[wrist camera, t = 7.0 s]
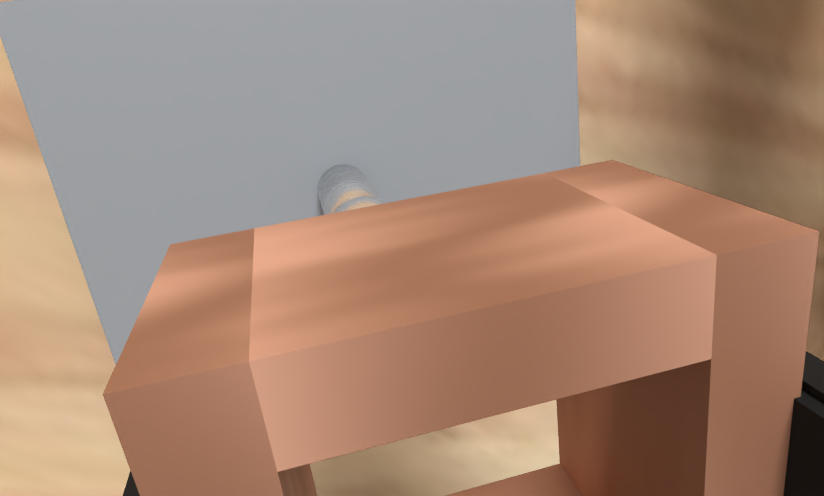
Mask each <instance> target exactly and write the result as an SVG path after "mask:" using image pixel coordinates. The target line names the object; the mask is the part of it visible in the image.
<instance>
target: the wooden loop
mask: <svg viewBox="0 0 824 496" xmlns="http://www.w3.org/2000/svg"><path fill="white" fill-rule="evenodd" d="M819 232H820V231H817V230H814V229H811V228H808V227H805V226H802V225H799V224H796V223H794V222H791V221H788V220H785V219H782V218H779V217H776V216H773V215H770V214H767V213H765V212H762V211H759V210H756V209H753V208H750V207H747V206H744V205H741V204H739V203H736V202H733V201H730V200H727V199H724V198H721V197H718V196H715V195H712V194H710V193H707V192H704V191H701V190H698V189H695V188H692V187H689V186H686V185H684V184H681V183H678V182H675V181H672V180H669V179H666V178H663V177H660V176H658V175H655V174H652V173H649V172H646V171H643V170H640V169H637V168H634V167H631V166H629V165H626V164H623V163H620V162H617V161H614V160H610V161H605V162H599V163H594V164H589V165H584V166H578V167H573V168H568V169H563V170H557V171H552V172H547V173H542V174H537V175H531V176H526V177H521V178H516V179H510V180H505V181H500V182H495V183H489V184H484V185H479V186H474V187H468V188H463V189H458V190H453V191H447V192H442V193H437V194H432V195H426V196H421V197H416V198H411V199H405V200H400V201H395V202H390V203H384V204H379V205H374V206H369V207H364V208H358V209H353V210H348V211H343V212H337V213H332V214H327V215H322V216H316V217H311V218H306V219H301V220H295V221H290V222H285V223H280V224H274V225H269V226H264V227H259V228H253V229H248V230H243V231H238V232H232V233H227V234H222V235H217V236H212V237H206V238H201V239H196V240H191V241H185V242H180V243H175V244H170V246H169V248H168V250H167V253H166V255H165V257H164V259H163V262H162V264H161V266H160V268H159V270H158V273H157V275H156V277H155V279H154V282H153V284H152V286H151V288H150V291H149V293H148V295H147V297H146V299H145V302H144V304H143V306H142V308H141V311H140V313H139V315H138V317H137V319H136V322H135V324H134V326H133V328H132V331H131V333H130V335H129V337H128V340H127V342H126V344H125V346H124V348H123V351H122V353H121V355H120V357H119V360H118V362H117V364H116V366H115V369H114V371H113V373H112V375H111V377H110V380H109V382H108V384H107V386H106V389H105V391H104V393H103V396H104V399H105V402H106V404H107V407H108V410H109V412H110V415H111V418H112V421H113V423H114V426H115V429H116V432H117V434H118V437H119V440H120V443H121V445H122V448H123V451H124V454H125V456H126V459H127V462H128V465H129V467H130V470H131V473H132V476H133V478H134V481H135V484H136V486H137V489H138V492H139V495H140V496H317V494H316V489H315V485H314V481H313V476H312V472H311V468H310V463H313V462H317V461H321V460H325V459H329V458H333V457H337V456H340V455H344V454H348V453H352V452H356V451H360V450H363V449H367V448H371V447H375V446H379V445H383V444H387V443H390V442H394V441H398V440H402V439H406V438H410V437H413V436H417V435H421V434H425V433H429V432H433V431H437V430H440V429H444V428H448V427H452V426H456V425H460V424H463V423H467V422H471V421H475V420H479V419H483V418H487V417H490V416H494V415H498V414H502V413H506V412H510V411H514V410H517V409H521V408H525V407H529V406H533V405H537V404H540V403H544V402H548V401H552V400H556V399H557V417H558V436H559V455H560V464H557V465H554V466H550V467H546V468H543V469H539V470H536V471H532V472H529V473H525V474H521V475H518V476H514V477H511V478H507V479H503V480H500V481H496V482H493V483H489V484H486V485H482V486H478V487H475V488H471V489H468V490H464V491H461V492H457V493H453V494H450V495H446V496H783V495H784V486H785V476H786V467H787V458H788V449H789V440H790V431H791V422H792V413H793V404H794V398H798V397H801V389H802V380H803V371H804V363H805V354H806V345H807V336H808V328H809V319H810V310H811V302H812V293H813V284H814V275H815V267H816V258H817V249H818V241H819Z"/></svg>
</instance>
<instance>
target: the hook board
mask: <svg viewBox="0 0 824 496" xmlns="http://www.w3.org/2000/svg"><path fill="white" fill-rule="evenodd" d="M0 37H1V39H2V42H3V45H4V48H5V51H6V54H7V57H8V59H9V62H10V65H11V68H12V71H13V74H14V76H15V79H16V82H17V85H18V88H19V91H20V94H21V96H22V99H23V102H24V105H25V108H26V111H27V113H28V116H29V119H30V122H31V125H32V128H33V130H34V133H35V136H36V139H37V142H38V145H39V148H40V150H41V153H42V156H43V159H44V162H45V165H46V167H47V170H48V173H49V176H50V179H51V182H52V185H53V187H54V190H55V193H56V196H57V199H58V202H59V204H60V207H61V210H62V213H63V216H64V219H65V221H66V224H67V227H68V230H69V233H70V236H71V239H72V241H73V244H74V247H75V250H76V253H77V256H78V258H79V261H80V264H81V267H82V270H83V273H84V276H85V278H86V281H87V284H88V287H89V290H90V293H91V295H92V298H93V301H94V304H95V307H96V310H97V313H98V315H99V318H100V321H101V324H102V327H103V330H104V332H105V335H106V338H107V341H108V344H109V347H110V349H111V352H112V355H113V358H114V361H115V364H117V362H118V360H119V357H120V355H121V353H122V351H123V348H124V346H125V344H126V342H127V340H128V337H129V335H130V333H131V331H132V328H133V326H134V324H135V322H136V319H137V317H138V315H139V313H140V311H141V308H142V306H143V304H144V302H145V299H146V297H147V295H148V293H149V291H150V288H151V286H152V284H153V282H154V279H155V277H156V275H157V273H158V270H159V268H160V266H161V264H162V262H163V259H164V257H165V255H166V253H167V250H168V248H169V246H170V244H175V243H180V242H185V241H191V240H196V239H201V238H206V237H212V236H217V235H222V234H227V233H232V232H238V231H243V230H248V229H253V228H259V227H264V226H269V225H274V224H280V223H285V222H290V221H295V220H301V219H306V218H311V217H316V216H322V215H324V213H323V209H322V206H321V203H320V200H319V197H318V192H317V187H318V182H319V180H320V177H321V176H322V174H323V173H324V172H325V171H326V170H327V169H329V168H331V167H332V166H335V165H339V164H348V165H352V166H354V167H356V168H358V169H359V170H360V171H361V172H362V173H363V174H364V175H365V177H366V178H367V180H368V181H369V182H370V184H371V185H372V187H373V188H374V190H375V191H376V192H377V194H378V195H379V197H380V198H381V199H382V200H384V201H386V202H388V203H390V202H395V201H400V200H405V199H411V198H416V197H421V196H426V195H432V194H437V193H442V192H447V191H453V190H458V189H463V188H468V187H474V186H479V185H484V184H489V183H495V182H500V181H505V180H510V179H516V178H521V177H526V176H531V175H537V174H542V173H547V172H552V171H557V170H563V169H568V168H573V167H578V166H580V146H579V112H578V78H577V44H576V11H575V0H14V1H6V2H0Z"/></svg>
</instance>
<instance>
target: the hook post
mask: <svg viewBox="0 0 824 496" xmlns="http://www.w3.org/2000/svg"><path fill="white" fill-rule="evenodd" d="M317 192H318V197H319V200H320V203H321V206H322V209H323V213H324V215H327V214H332V213H337V212H343V211H348V210H353V209H358V208H364V207H369V206H374V205H379V204H384V203H388V202H386V201H384V200H382V199H381V198H380V197H379V195H378V194H377V192H376V191H375V190H374V188H373V187H372V185H371V184H370V182H369V181H368V180H367V178H366V177H365V175H364V174H363V173H362V172H361V171H360V170H359V169H358V168H356V167H354V166H352V165H348V164H339V165H335V166H332V167H331V168H329V169H327V170H326V171H325V172H324V173H323V174H322V176H321V177H320V180H319V182H318V187H317Z"/></svg>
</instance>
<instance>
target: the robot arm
mask: <svg viewBox="0 0 824 496" xmlns="http://www.w3.org/2000/svg"><path fill="white" fill-rule="evenodd" d="M123 496H140V495H139V492H138V489H137V486H136V484H135V481H134V478H133V476H132V473H131V471H130V474H129V477H128V480H127V484H126V487H125V490H124V493H123ZM783 496H824V361H822V360H820V359H819V358H817V357H815V356H813V355H812V354H810V353H808V352H807V351H806V354H805V363H804V371H803V380H802V389H801V397H798V398H794V404H793V413H792V422H791V431H790V440H789V449H788V458H787V467H786V476H785V486H784V495H783Z"/></svg>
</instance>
